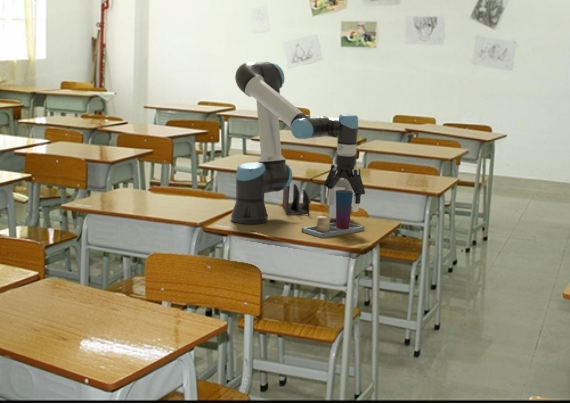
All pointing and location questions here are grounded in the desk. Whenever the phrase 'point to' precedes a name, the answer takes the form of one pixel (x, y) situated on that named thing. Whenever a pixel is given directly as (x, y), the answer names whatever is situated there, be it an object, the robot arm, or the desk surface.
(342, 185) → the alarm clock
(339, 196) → the cup
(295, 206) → the letter holder
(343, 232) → the gray divided tray
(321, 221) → the beech sleeve
